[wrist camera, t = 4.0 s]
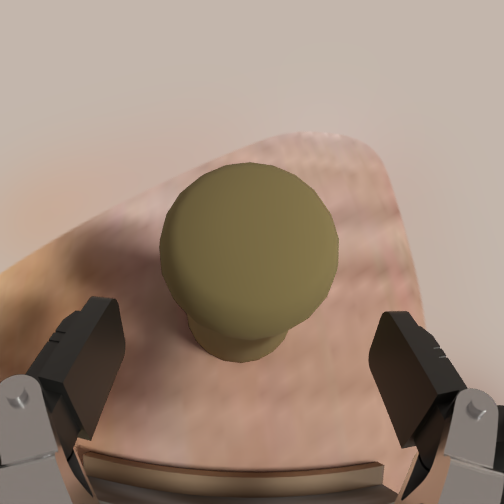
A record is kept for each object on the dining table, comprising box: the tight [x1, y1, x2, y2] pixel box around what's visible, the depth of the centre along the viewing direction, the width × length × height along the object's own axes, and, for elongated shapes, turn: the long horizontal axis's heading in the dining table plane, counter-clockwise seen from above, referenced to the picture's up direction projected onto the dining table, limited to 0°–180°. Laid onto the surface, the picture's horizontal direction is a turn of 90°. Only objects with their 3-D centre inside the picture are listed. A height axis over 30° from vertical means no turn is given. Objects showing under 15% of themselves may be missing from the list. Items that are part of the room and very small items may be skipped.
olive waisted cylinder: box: [159, 162, 339, 363], centre depth 13 cm, size 6×6×11 cm
